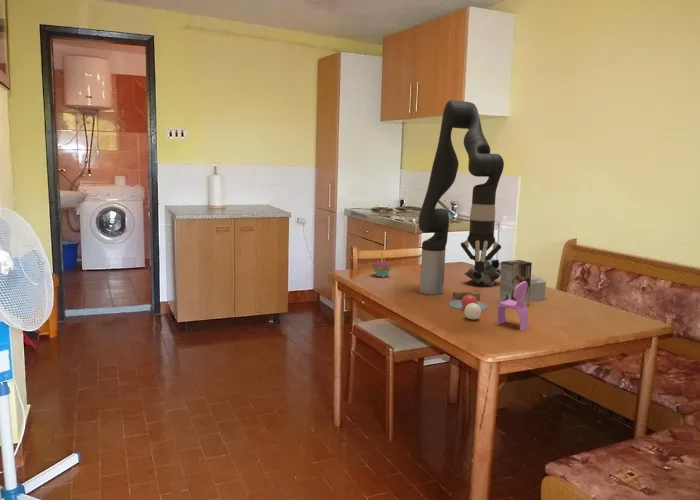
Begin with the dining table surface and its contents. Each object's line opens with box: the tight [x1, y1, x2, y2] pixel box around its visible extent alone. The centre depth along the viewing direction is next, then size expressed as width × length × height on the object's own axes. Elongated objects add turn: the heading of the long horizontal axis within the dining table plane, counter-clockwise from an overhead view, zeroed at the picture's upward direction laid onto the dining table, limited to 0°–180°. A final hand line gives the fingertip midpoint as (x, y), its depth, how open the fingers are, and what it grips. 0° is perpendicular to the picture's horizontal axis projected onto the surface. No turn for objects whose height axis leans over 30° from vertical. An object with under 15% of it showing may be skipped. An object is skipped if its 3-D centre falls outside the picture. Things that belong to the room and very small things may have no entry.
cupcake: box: [371, 250, 392, 277], centre depth 243 cm, size 9×8×12 cm
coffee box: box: [498, 259, 533, 306], centre depth 200 cm, size 9×6×16 cm
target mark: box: [447, 299, 488, 311], centre depth 199 cm, size 14×14×1 cm
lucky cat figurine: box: [463, 258, 503, 288], centre depth 233 cm, size 15×12×14 cm
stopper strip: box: [452, 291, 481, 302], centre depth 208 cm, size 10×2×2 cm, turn 82°
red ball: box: [460, 294, 478, 308], centre depth 193 cm, size 6×6×6 cm
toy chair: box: [496, 281, 530, 331], centre depth 175 cm, size 8×9×15 cm
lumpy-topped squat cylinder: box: [529, 274, 547, 302], centre depth 212 cm, size 10×13×9 cm
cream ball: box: [463, 303, 482, 321], centre depth 182 cm, size 6×6×6 cm
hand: (479, 272), depth 174 cm, fingers closed
